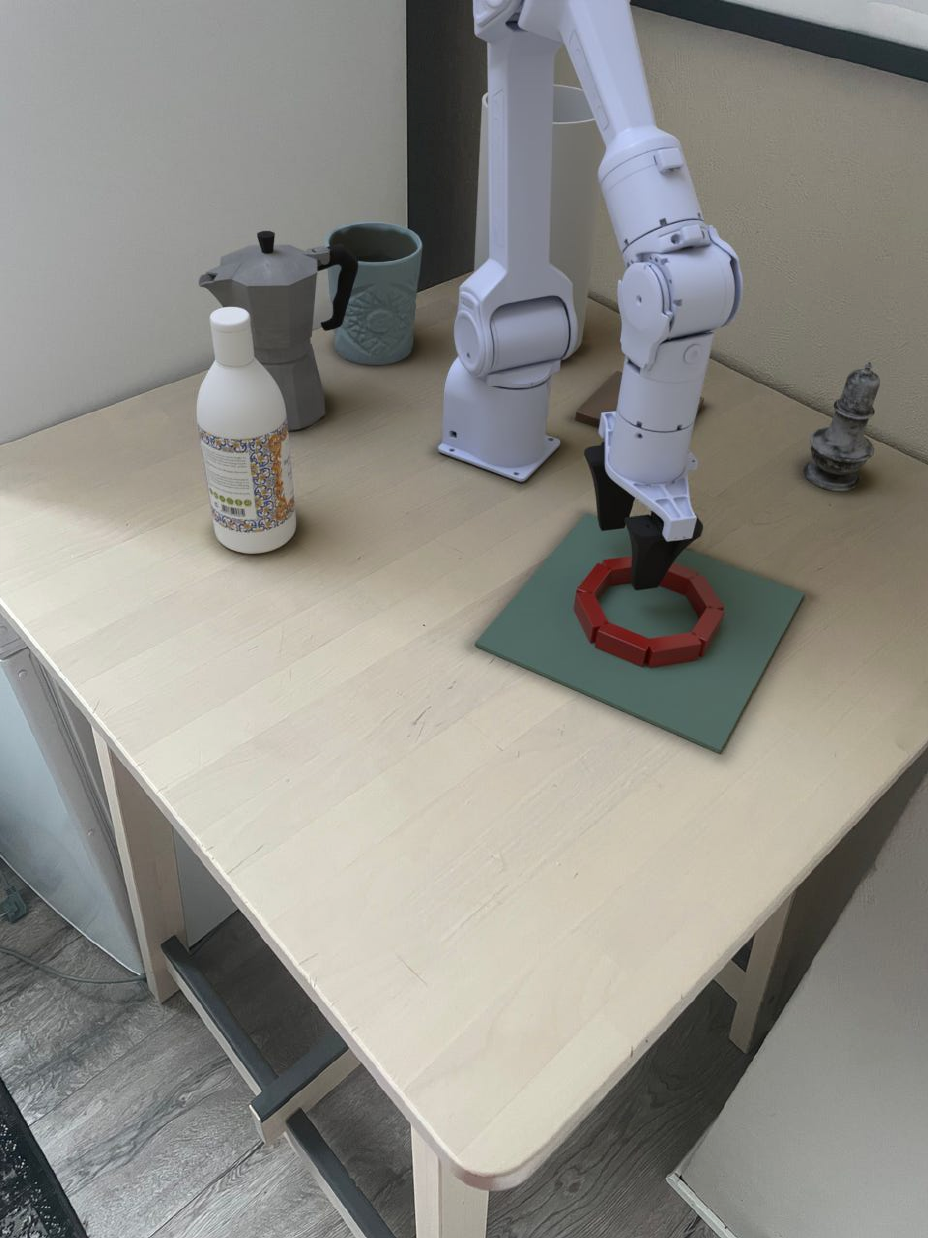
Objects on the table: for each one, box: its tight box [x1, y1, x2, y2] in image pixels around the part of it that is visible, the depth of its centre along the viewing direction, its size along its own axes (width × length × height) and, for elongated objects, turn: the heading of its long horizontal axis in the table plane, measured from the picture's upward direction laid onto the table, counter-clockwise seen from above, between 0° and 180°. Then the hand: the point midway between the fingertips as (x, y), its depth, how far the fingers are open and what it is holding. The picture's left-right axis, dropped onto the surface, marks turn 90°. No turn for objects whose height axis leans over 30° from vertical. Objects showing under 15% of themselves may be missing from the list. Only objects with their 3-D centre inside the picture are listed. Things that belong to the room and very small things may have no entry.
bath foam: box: [196, 307, 297, 555], centre depth 82 cm, size 7×7×20 cm
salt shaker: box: [802, 361, 881, 492], centre depth 95 cm, size 6×6×12 cm
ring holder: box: [574, 370, 705, 428], centre depth 104 cm, size 10×10×6 cm
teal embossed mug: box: [323, 221, 423, 366], centre depth 109 cm, size 10×10×12 cm
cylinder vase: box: [473, 84, 606, 356], centre depth 108 cm, size 12×12×25 cm
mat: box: [474, 512, 805, 754], centre depth 82 cm, size 20×20×1 cm
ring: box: [574, 556, 724, 668], centre depth 81 cm, size 11×11×2 cm
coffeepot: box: [198, 230, 358, 432], centre depth 98 cm, size 15×9×18 cm, turn 120°
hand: (627, 555), depth 84 cm, fingers open, 7 cm apart
